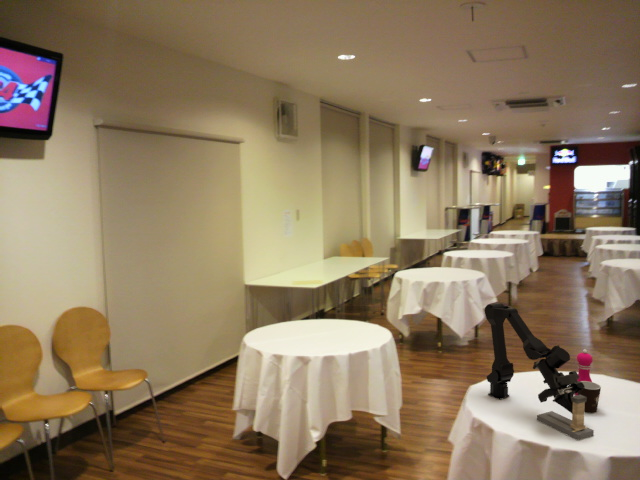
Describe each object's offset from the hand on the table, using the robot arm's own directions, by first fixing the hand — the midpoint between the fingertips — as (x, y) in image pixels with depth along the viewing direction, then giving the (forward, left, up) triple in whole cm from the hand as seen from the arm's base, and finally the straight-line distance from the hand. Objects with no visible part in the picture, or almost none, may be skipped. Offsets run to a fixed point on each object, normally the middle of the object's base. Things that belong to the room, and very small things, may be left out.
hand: (574, 413), depth 189 cm
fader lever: (+1, 0, -5) cm, 5 cm away
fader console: (-4, +1, -7) cm, 8 cm away
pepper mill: (-16, +35, -7) cm, 39 cm away
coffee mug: (-7, +24, -7) cm, 26 cm away
